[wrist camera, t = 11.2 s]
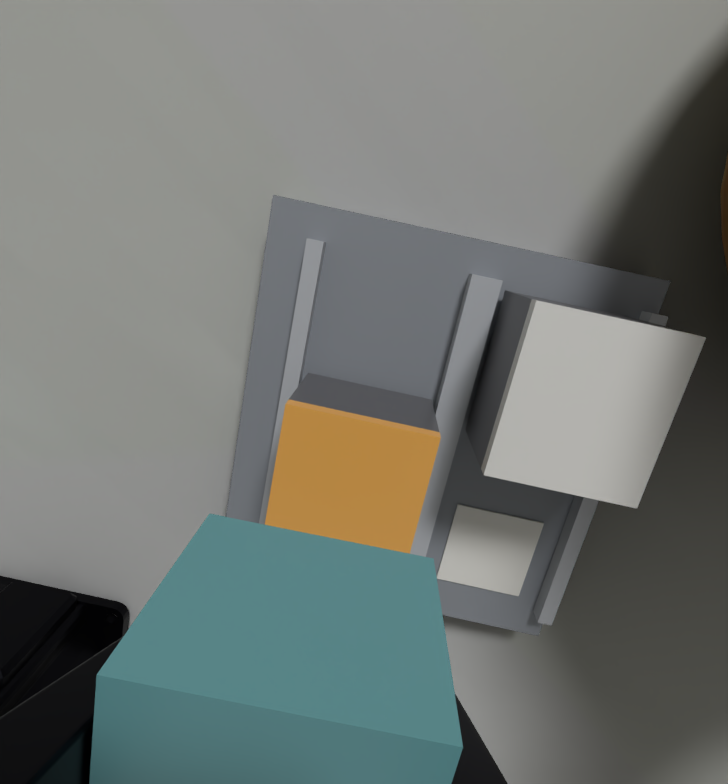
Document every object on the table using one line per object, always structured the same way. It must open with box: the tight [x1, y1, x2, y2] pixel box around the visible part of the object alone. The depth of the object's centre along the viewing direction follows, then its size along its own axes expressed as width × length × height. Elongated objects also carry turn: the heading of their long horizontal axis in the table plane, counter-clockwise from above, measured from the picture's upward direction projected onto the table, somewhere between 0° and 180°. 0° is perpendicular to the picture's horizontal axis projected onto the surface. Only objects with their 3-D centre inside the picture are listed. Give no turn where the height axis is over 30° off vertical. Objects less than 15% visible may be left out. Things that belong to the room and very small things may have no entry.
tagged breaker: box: [265, 373, 441, 554], centre depth 15 cm, size 4×4×3 cm
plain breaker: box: [466, 290, 706, 509], centre depth 14 cm, size 4×4×3 cm
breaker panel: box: [226, 195, 671, 636], centre depth 17 cm, size 13×12×2 cm
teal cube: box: [89, 514, 463, 784], centre depth 8 cm, size 4×4×4 cm
